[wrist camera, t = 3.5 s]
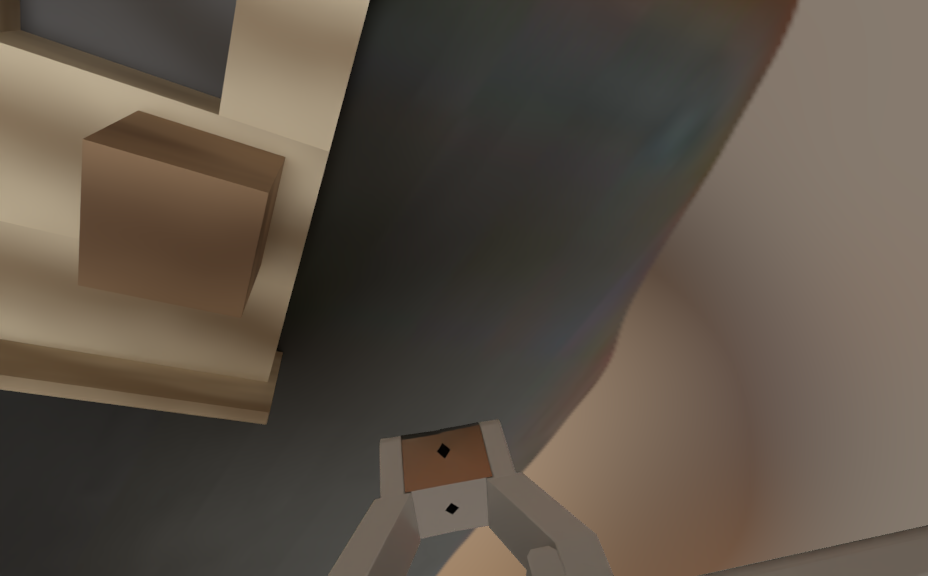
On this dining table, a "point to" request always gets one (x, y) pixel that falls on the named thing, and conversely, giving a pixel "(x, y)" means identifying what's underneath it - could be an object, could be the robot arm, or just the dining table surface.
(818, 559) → the robot arm
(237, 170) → the block
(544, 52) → the dining table surface
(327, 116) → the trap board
